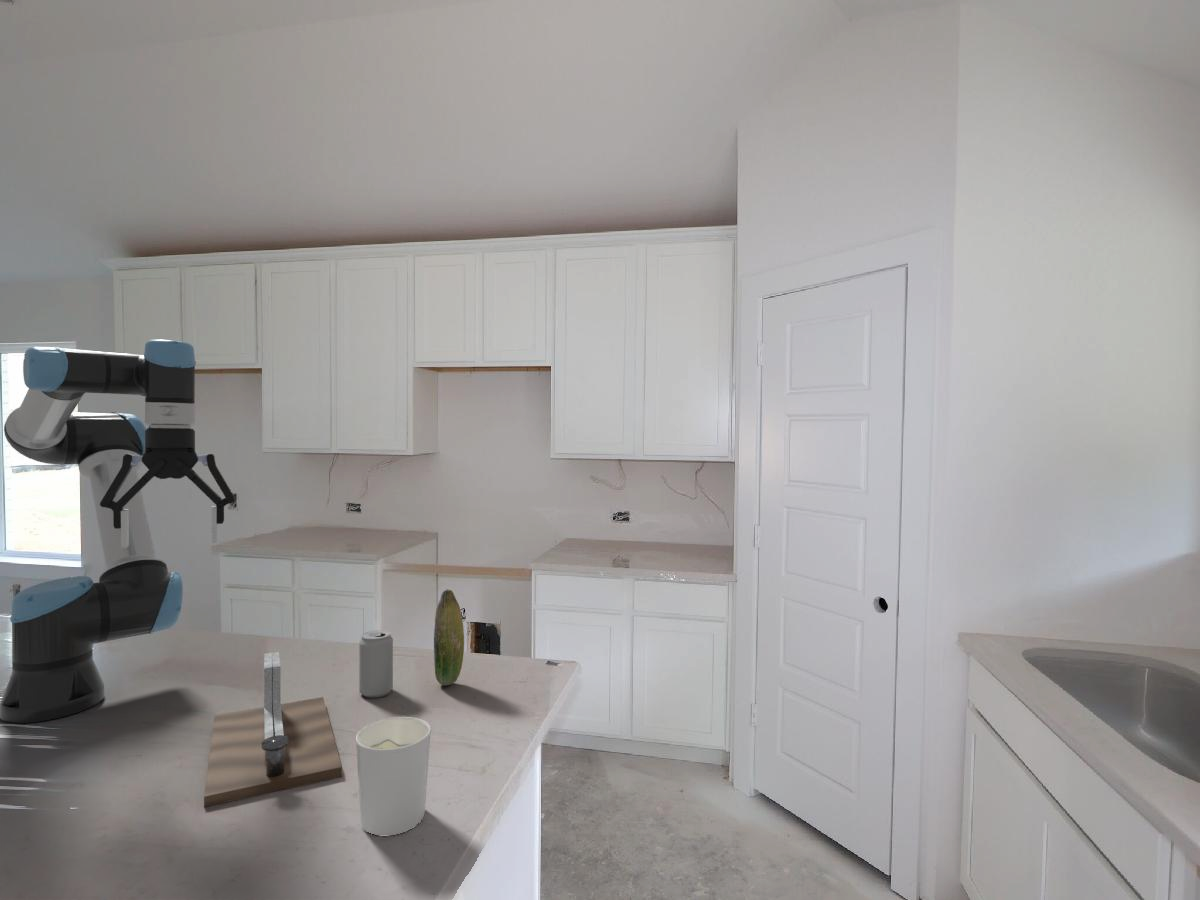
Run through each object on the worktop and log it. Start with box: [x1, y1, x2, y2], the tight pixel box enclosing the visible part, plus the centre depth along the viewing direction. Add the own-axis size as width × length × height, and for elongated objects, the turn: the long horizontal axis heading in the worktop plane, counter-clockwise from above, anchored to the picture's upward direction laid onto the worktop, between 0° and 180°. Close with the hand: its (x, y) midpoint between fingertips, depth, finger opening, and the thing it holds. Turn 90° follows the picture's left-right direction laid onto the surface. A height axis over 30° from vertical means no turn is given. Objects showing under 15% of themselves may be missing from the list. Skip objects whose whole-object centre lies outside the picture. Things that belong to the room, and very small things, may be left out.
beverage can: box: [358, 629, 394, 699], centre depth 131 cm, size 6×6×12 cm
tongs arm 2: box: [270, 651, 285, 762], centre depth 110 cm, size 23×1×10 cm, turn 28°
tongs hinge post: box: [262, 735, 289, 777], centre depth 97 cm, size 4×4×5 cm
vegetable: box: [433, 588, 465, 686], centre depth 135 cm, size 6×6×20 cm
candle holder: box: [355, 716, 432, 836], centre depth 89 cm, size 10×10×12 cm
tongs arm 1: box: [263, 652, 273, 766], centre depth 109 cm, size 23×1×10 cm, turn 28°
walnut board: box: [203, 696, 342, 808], centre depth 108 cm, size 29×18×2 cm, turn 28°
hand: (171, 544), depth 118 cm, fingers open, 13 cm apart
